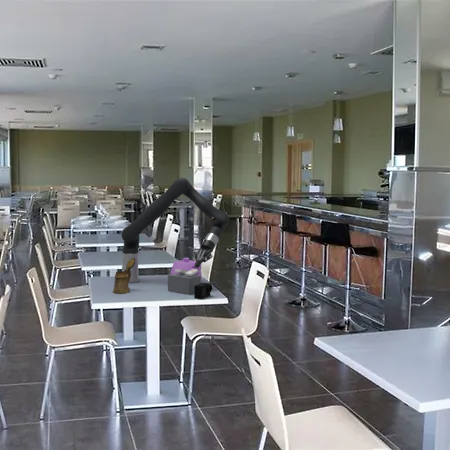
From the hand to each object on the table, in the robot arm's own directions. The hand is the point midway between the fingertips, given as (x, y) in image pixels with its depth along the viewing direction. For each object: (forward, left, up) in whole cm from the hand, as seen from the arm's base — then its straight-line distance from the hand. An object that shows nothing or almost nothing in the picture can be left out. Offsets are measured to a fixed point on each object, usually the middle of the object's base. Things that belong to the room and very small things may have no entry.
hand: (196, 266), depth 326 cm
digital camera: (-1, -17, -14) cm, 22 cm away
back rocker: (-8, +3, -4) cm, 9 cm away
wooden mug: (-38, +8, -14) cm, 42 cm away
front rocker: (-3, -2, -4) cm, 5 cm away
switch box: (-7, 0, -13) cm, 15 cm away
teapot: (+1, +23, -14) cm, 27 cm away
